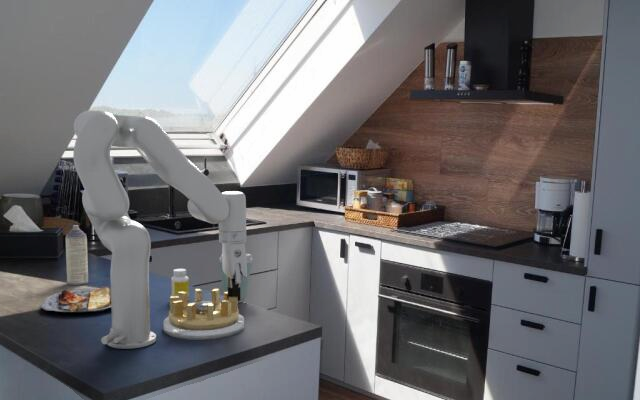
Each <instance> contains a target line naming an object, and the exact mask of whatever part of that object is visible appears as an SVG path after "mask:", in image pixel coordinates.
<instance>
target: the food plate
mask: <svg viewBox="0 0 640 400" xmlns="http://www.w3.org/2000/svg"><path fill="white" fill-rule="evenodd" d="M40 308H42V309H43V310H44V311H54V312H56V313H57V312H61V313H66V314H68V313H69V314H77V313H78V314H79V313H80V314H83V313H95V312H103V311H105V310H107V309H109V308H111V289H110V287H109V286H103V287H99V288H81V289H79V288H78V289H71V290H68V289H64V290H62V291H61V292H57V293H54V294H51V295H50V296H46V297H45V299H44V301H42V304H41V307H40ZM59 308H61V309H59ZM64 309H66V310H64ZM83 309H86V310H83Z"/></svg>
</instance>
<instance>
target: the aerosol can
mask: <svg viewBox="0 0 640 400" xmlns="http://www.w3.org/2000/svg"><path fill="white" fill-rule="evenodd" d="M65 261H66V284H67V285H68V286H85V285H88V283H89V270H88V269H89V267H88V265H89V263H88V238H87V233H85V232H84V231H83V230H81V228H79V225H78V224H76V225H72V229H70V230H69V231H68V233H66V234H65Z"/></svg>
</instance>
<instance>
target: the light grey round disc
mask: <svg viewBox="0 0 640 400" xmlns="http://www.w3.org/2000/svg"><path fill="white" fill-rule="evenodd" d="M243 329H245V317H244V316H243V315H242V314H240V313H239V320H238V321H237V322H236V323H235V324H233V325H230V326H227V327H223V328H218V329H211V330H189V329H182V328H178V327H175V326H173V325H171V324H170V323H169V315H168V316H167V317H165V318H164V320H163V332H164V333H165V334H166V335H168V336H171V337H172V338H177V339H182V340H188V341H189V340H193V341H205V340H207V341H209V340H217V339H225V338H227V337H230V336H234V335H237V334H238V333H239V334H240V332H241V331H243Z"/></svg>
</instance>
